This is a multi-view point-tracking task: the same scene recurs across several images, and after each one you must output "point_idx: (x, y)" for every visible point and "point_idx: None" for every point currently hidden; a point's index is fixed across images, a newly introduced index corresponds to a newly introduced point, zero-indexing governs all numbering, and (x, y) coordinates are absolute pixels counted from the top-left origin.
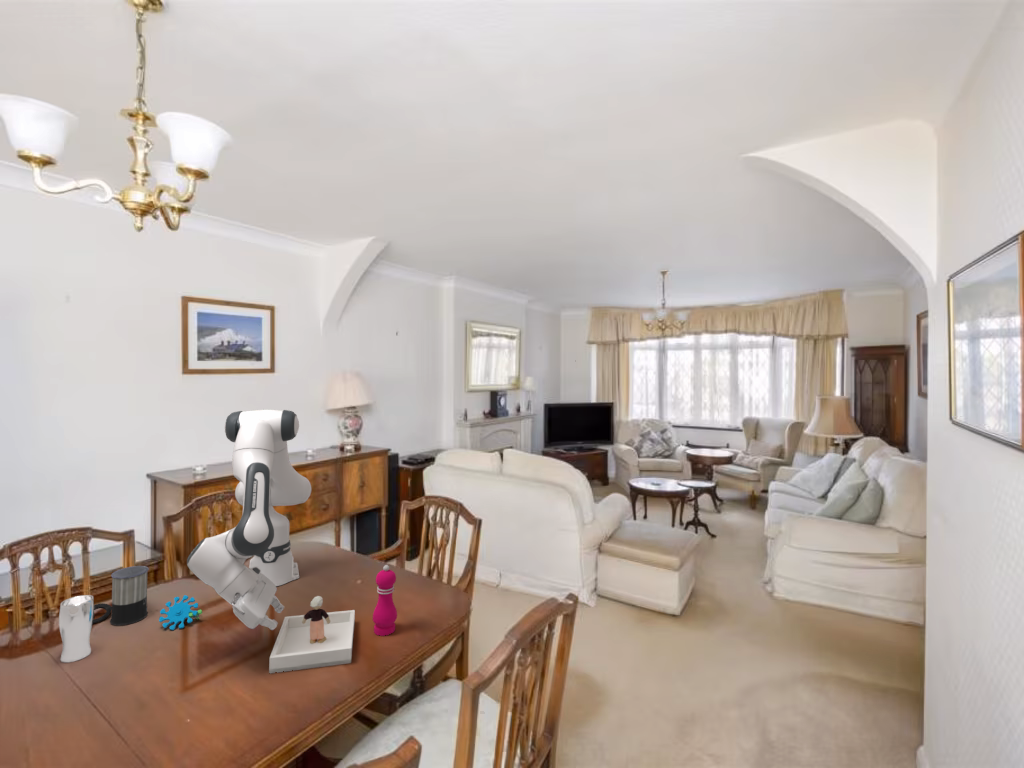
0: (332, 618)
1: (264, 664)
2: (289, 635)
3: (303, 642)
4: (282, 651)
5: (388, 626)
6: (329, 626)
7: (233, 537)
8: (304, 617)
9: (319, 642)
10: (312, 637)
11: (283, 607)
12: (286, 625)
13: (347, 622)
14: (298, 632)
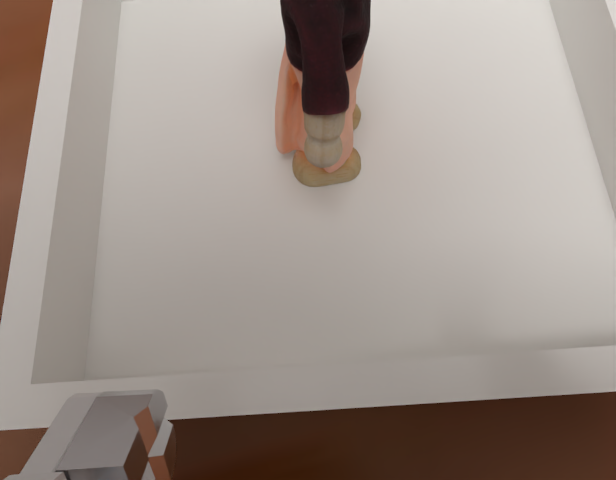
0: (95, 68)
1: (562, 457)
2: (208, 351)
3: (334, 224)
4: (446, 348)
5: None
6: (148, 102)
7: None
8: (345, 106)
9: (358, 121)
10: (350, 146)
11: (113, 394)
12: (163, 376)
13: (126, 14)
14: (176, 291)
